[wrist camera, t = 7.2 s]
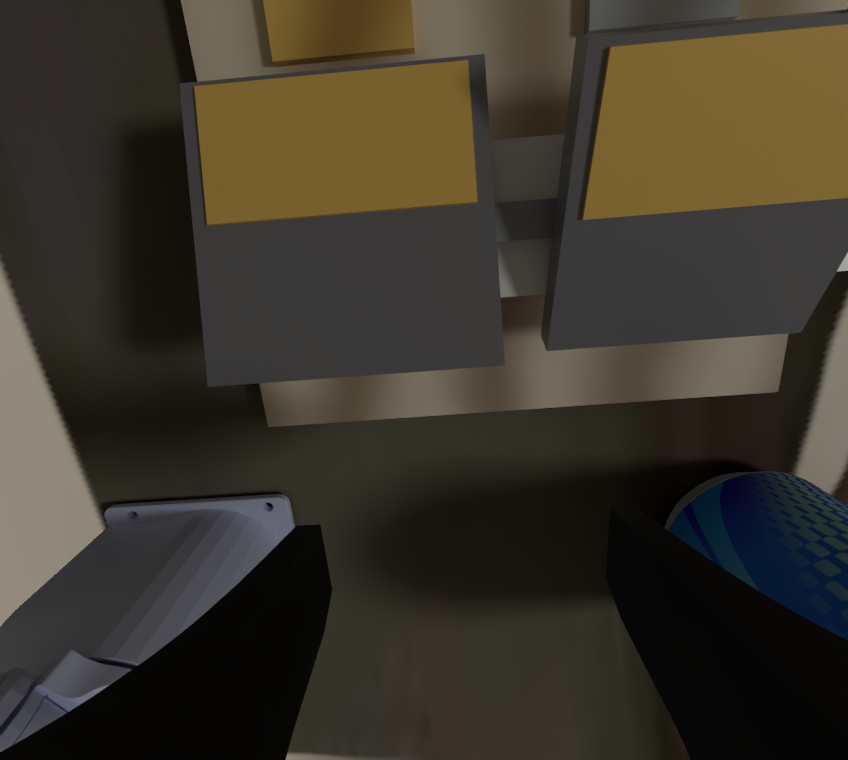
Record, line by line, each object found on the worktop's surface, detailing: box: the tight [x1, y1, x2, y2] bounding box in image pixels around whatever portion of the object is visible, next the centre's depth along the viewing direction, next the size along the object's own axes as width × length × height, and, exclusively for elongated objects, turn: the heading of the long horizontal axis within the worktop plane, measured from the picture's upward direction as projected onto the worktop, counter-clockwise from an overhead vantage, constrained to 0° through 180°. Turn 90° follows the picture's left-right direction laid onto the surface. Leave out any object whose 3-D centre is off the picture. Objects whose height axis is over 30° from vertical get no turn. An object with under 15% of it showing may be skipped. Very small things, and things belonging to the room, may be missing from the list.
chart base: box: [181, 0, 848, 427], centre depth 17 cm, size 23×18×2 cm
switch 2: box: [541, 9, 848, 351], centre depth 13 cm, size 9×9×1 cm
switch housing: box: [490, 134, 848, 297], centre depth 16 cm, size 22×5×4 cm, turn 95°
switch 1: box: [179, 54, 505, 387], centre depth 13 cm, size 9×9×1 cm
